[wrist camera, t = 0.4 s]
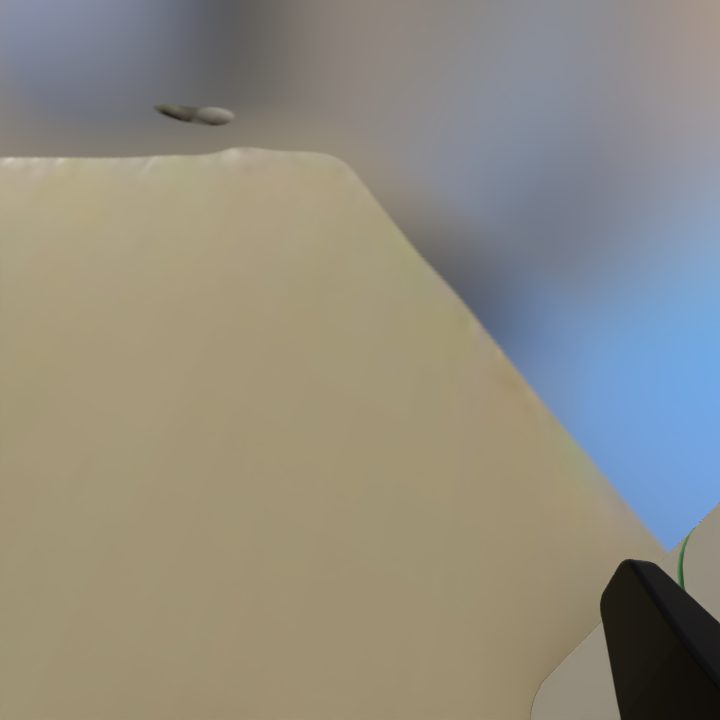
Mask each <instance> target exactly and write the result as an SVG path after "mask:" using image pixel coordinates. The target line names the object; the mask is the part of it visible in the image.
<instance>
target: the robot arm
mask: <svg viewBox="0 0 720 720" xmlns="http://www.w3.org/2000/svg"><path fill="white" fill-rule="evenodd" d="M600 611H601V617H602V623H603V628H604V634H605V639H606V645H607V650H608V656H609V661H610V667H611V672H612V678H613V683H614V688H615V694H616V699H617V704H618V709H619V714H620V718H621V720H720V623H719V622H718V621H717V620H716V619H715V618H714V617H713V616H712V615H711V614H710V613H709V612H708V611H706V610H705V609H704V608H703V607H702V606H701V605H700V604H699V603H698V602H697V601H696V600H695V599H694V598H692V597H691V596H690V595H689V594H688V593H687V592H686V591H685V590H684V589H683V588H682V587H681V586H680V585H678V584H677V583H676V582H675V581H674V580H673V579H672V578H671V577H670V576H669V575H668V574H667V573H665V572H664V571H663V570H662V569H661V568H660V567H659V566H658V565H656V564H655V563H652V562H649V561H641V560H633V559H626V560H624V561H623V562H621V563H620V565H619V566H618V568H617V570H616V571H615V573H614V575H613V577H612V578H611V580H610V582H609V583H608V585H607V587H606V588H605V590H604V592H603V594H602V597H601V602H600Z"/></svg>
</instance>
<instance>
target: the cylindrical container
mask: <svg viewBox="0 0 720 720" xmlns="http://www.w3.org/2000/svg"><path fill="white" fill-rule="evenodd" d="M658 566H659V567H660V568H661V569H662V570H663V571H664V572H665V573H667V574H668V575H669V576H670V577H671V578H672V579H673V580H674V581H675V582H676V583H677V584H678V585H680V586H681V587H682V588H683V589H684V590H685V591H686V592H687V593H688V594H689V595H690V596H691V597H692V598H694V599H695V600H696V601H697V602H698V603H699V604H700V605H701V606H702V607H703V608H704V609H705V610H706V611H708V612H709V613H710V614H711V615H712V616H713V617H714V618H715V619H716V620H717V621H718V622H719V623H720V503H719V504H718V505H717V506H716V507H715V508H714V509H713V510H712V511H711V512H710V513H709V514H708V515H707V516H706V517H705V518H704V519H703V520H702V521H701V522H700V523H699V524H698V525H697V526H696V527H695V528H694V529H693V530H692V531H691V532H690V533H689V534H688V535H687V536H686V537H685V538H684V539H683V540H682V541H681V542H680V543H679V544H678V545H677V546H676V547H675V548H674V549H673V550H672V551H671V552H670V553H669V554H668V555H667V556H666V557H665V558H664V559H663V560H662V561H661V562H660V563H659V564H658ZM530 720H621V718H620V714H619V709H618V704H617V699H616V694H615V688H614V683H613V678H612V672H611V667H610V661H609V656H608V650H607V645H606V639H605V634H604V628H603V623H602V622H601V623H600V624H599V625H598V626H597V627H596V628H595V629H594V630H593V631H592V632H591V633H590V634H589V635H588V636H587V637H586V638H585V639H584V640H583V641H582V642H581V643H580V644H579V645H578V646H577V647H576V648H575V649H574V650H573V651H572V652H571V653H570V654H569V655H568V656H567V657H566V658H565V659H564V660H563V661H562V662H561V664H560V665H559V666H558V667H557V668H556V669H555V670H554V671H553V672H552V673H551V674H550V675H549V676H548V677H547V678H546V679H545V680H544V681H543V683H542V685H541V686H540V688H539V690H538V692H537V694H536V696H535V699H534V703H533V706H532V710H531V718H530Z"/></svg>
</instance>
